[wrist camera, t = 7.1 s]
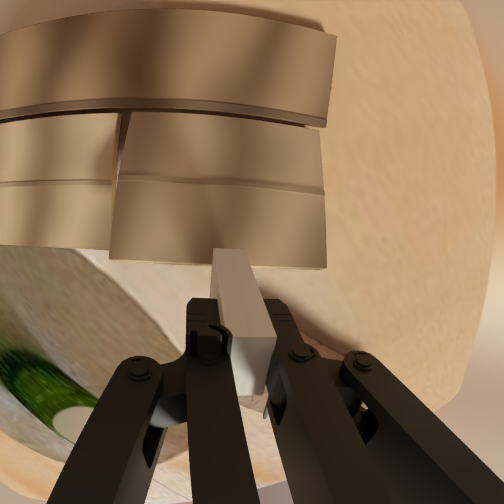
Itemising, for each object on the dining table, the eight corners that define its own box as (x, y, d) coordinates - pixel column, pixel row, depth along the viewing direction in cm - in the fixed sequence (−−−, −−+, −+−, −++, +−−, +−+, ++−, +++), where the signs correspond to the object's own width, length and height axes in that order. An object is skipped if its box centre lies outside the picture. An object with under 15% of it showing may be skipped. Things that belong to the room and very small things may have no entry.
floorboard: (-14, 123, 14) (-25, 124, 13) (-2, 41, 12) (-11, 38, 10) (317, 127, 20) (325, 127, 18) (328, 40, 17) (337, 35, 16)
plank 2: (113, 261, 16) (108, 258, 14) (134, 121, 17) (131, 111, 16) (318, 269, 18) (327, 267, 17) (312, 138, 19) (319, 130, 18)
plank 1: (-10, 238, 17) (-18, 243, 16) (-12, 127, 14) (-21, 127, 13) (115, 244, 20) (111, 250, 18) (121, 114, 17) (117, 112, 16)
